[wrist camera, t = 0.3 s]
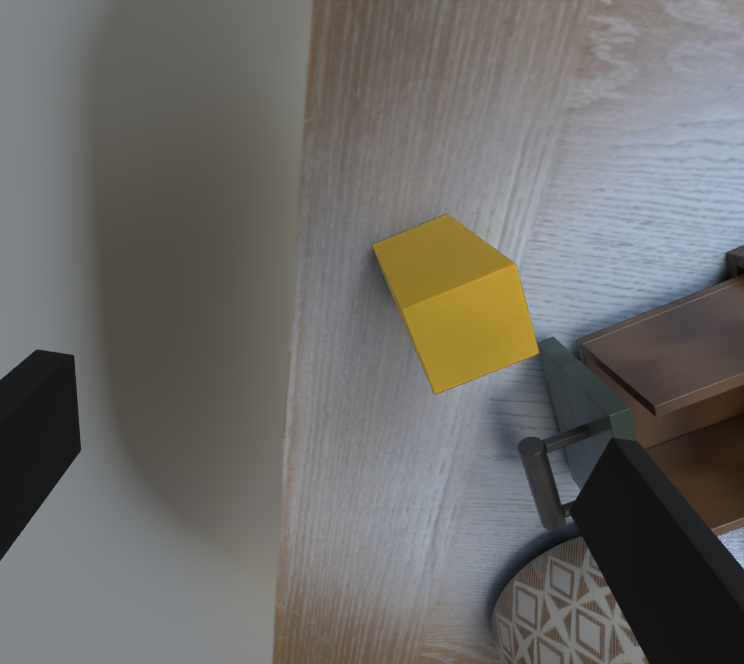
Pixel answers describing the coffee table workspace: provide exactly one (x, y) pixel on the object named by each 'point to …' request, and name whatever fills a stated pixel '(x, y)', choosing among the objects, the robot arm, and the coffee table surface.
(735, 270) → the cabinet
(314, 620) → the coffee table surface
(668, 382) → the drawer
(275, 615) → the coffee table surface
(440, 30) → the coffee table surface
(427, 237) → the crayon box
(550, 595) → the planter
